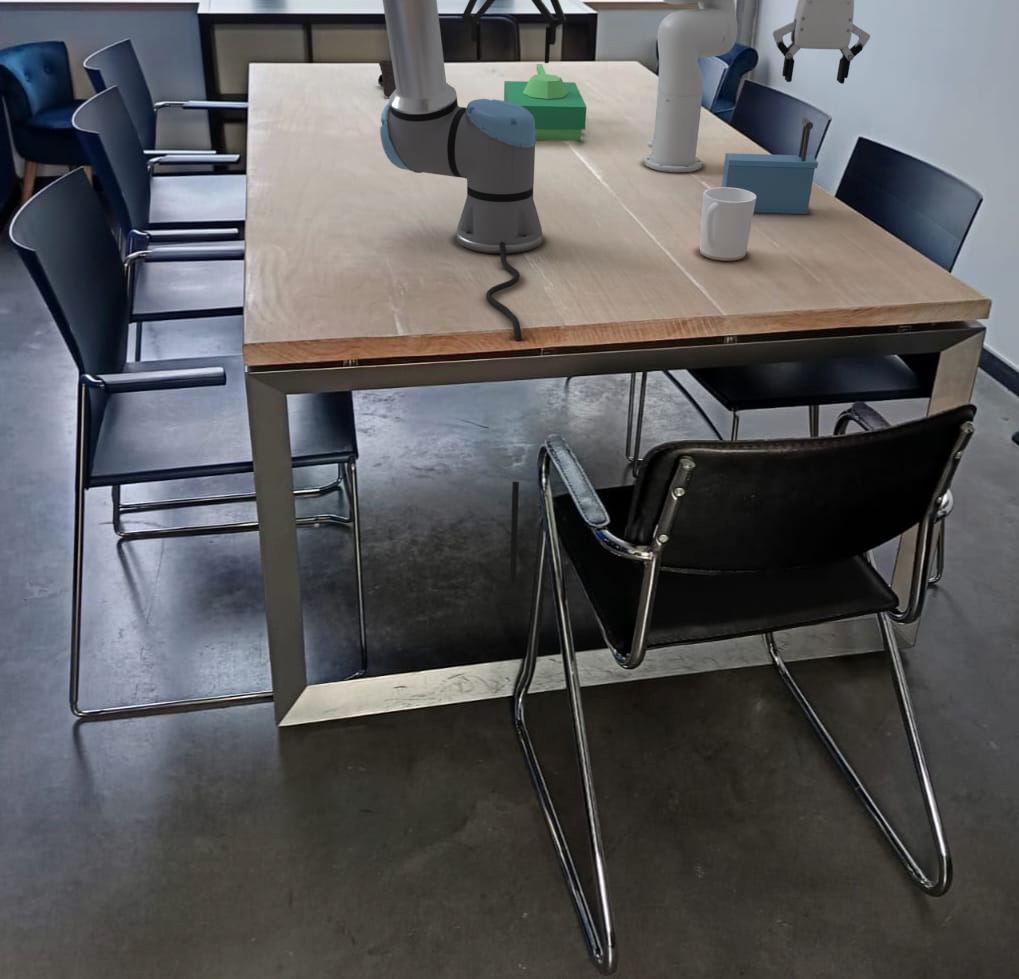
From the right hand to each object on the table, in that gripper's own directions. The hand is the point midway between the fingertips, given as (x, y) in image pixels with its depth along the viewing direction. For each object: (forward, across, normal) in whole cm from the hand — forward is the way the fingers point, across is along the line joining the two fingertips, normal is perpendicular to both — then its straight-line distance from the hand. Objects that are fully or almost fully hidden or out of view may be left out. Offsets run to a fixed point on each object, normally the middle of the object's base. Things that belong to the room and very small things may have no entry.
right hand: (813, 81), depth 202 cm
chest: (+24, +6, 0) cm, 25 cm away
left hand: (+1, +56, -17) cm, 59 cm away
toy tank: (+24, +50, -62) cm, 84 cm away
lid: (+15, +6, 0) cm, 16 cm away
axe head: (+24, +89, -98) cm, 134 cm away
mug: (+24, +18, +28) cm, 41 cm away
